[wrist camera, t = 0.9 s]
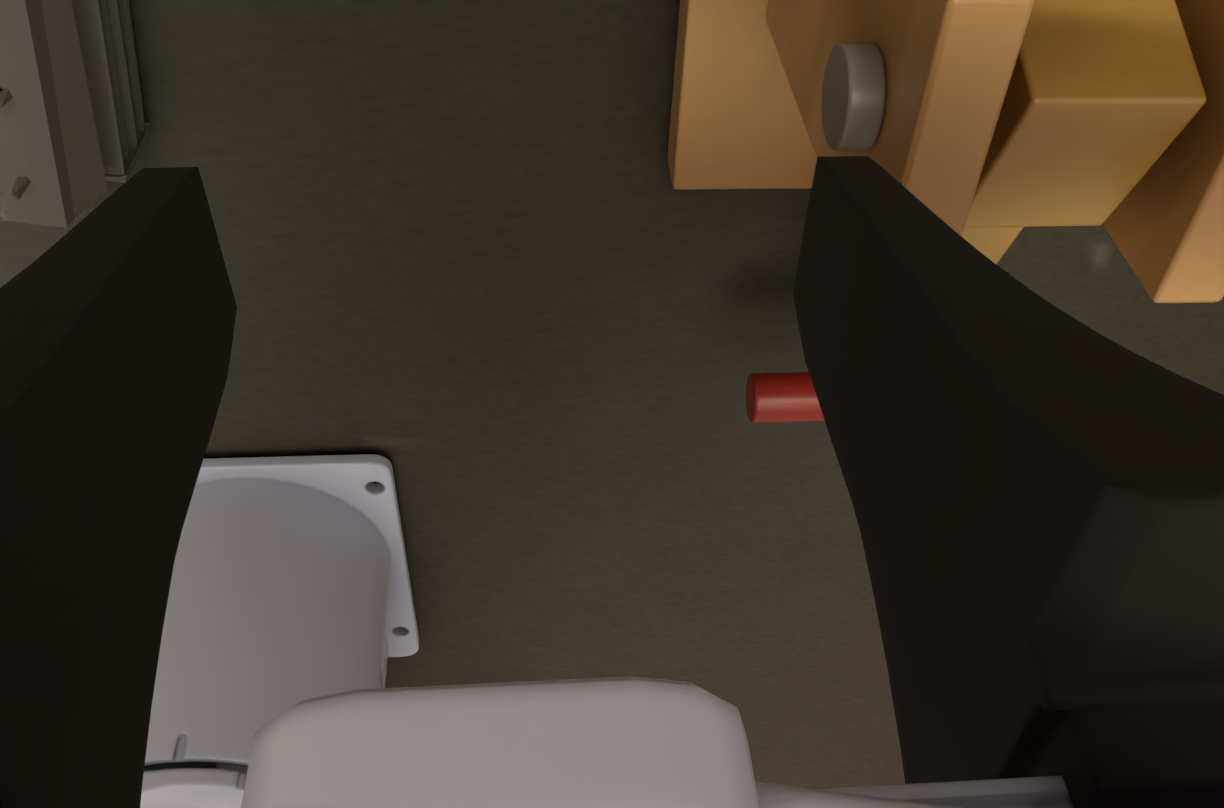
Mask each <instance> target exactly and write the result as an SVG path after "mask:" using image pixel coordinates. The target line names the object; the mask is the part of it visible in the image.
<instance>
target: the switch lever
mask: <svg viewBox="0 0 1224 808" xmlns="http://www.w3.org/2000/svg"><path fill="white" fill-rule="evenodd" d="M1205 103H1206V94H1205V91H1204V88H1203V85H1202V82H1201V79H1200V76H1199V72H1198V69H1197V66H1196V63H1195V60H1194V57H1193V54H1192V51H1191V48H1190V45H1189V42H1188V39H1187V36H1186V33H1185V30H1184V27H1183V23H1182V20H1181V17H1180V14H1179V11H1178V8H1177V5H1176V2H1175V0H1034V6H1033V9H1032V12H1031V15H1030V18H1029V22H1028V25H1027V28H1026V31H1025V34H1024V38H1023V41H1022V44H1021V47H1020V50H1019V54H1018V57H1017V60H1016V63H1015V66H1014V70H1013V73H1012V76H1011V79H1010V82H1009V86H1008V89H1007V92H1006V95H1005V98H1004V102H1003V105H1002V108H1001V111H1000V114H999V118H998V121H997V124H996V127H995V130H994V134H993V137H992V140H991V143H990V146H989V150H988V153H987V156H986V159H985V162H984V166H983V169H982V172H981V175H980V178H979V182H978V185H977V188H976V191H975V194H974V198H973V201H972V204H971V207H970V210H969V214H968V217H967V220H966V223H965V226H964V230H963V233H962V236H961V237H963V238H964V239H965V240H966V241H967V242H969V243H970V244H971V245H972V246H973V247H975V248H976V249H977V250H978V251H980V252H981V253H982V254H983V255H985V256H986V257H987V258H989V259H990V260H991V261H992V262H994V263H995V264H997V263H998V262H999V260H1000V259H1001V258H1002V256H1003V255H1004V253H1005V252H1006V251H1007V249H1008V248H1009V247H1010V245H1011V244H1012V242H1013V241H1014V240H1015V238H1016V237H1017V236H1018V234H1019V233H1020V232H1021V230H1022V229H1023V227H1032V226H1099V225H1101V224H1103V223H1104V222H1105V221H1106V220H1107V219H1108V217H1109V216H1110V215H1111V214H1112V213H1113V211H1114V210H1115V209H1116V208H1117V207H1118V206H1119V204H1120V203H1121V202H1122V201H1123V200H1124V199H1125V197H1126V196H1127V195H1128V194H1129V193H1130V191H1131V190H1132V189H1133V188H1134V187H1135V186H1136V184H1137V183H1138V182H1139V181H1140V180H1141V178H1142V177H1143V176H1144V175H1145V174H1146V173H1147V171H1148V170H1149V169H1150V168H1151V167H1152V165H1153V164H1154V163H1155V162H1156V161H1157V160H1158V158H1159V157H1160V156H1161V155H1162V154H1163V153H1164V151H1165V150H1166V149H1167V148H1168V147H1169V145H1170V144H1171V143H1172V142H1173V141H1174V140H1175V138H1176V137H1177V136H1178V135H1179V134H1180V132H1181V131H1182V130H1183V129H1184V128H1185V127H1186V125H1187V124H1188V123H1189V122H1190V121H1191V120H1192V118H1193V117H1194V116H1195V115H1196V114H1197V112H1198V111H1199V110H1200V109H1201V108H1202V107H1203V105H1204V104H1205ZM746 408H747V414H748V417H749V420H750V421H751V422H752V423H785V422H825V420H824V417H823V414H822V411H821V408H820V405H819V402H818V399H817V395H816V392H815V389H814V386H813V383H812V380H811V377H810V374H809V372H796V373H753V374H751V375H749V377H748V380H747V385H746Z"/></svg>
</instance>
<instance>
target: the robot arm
mask: <svg viewBox="0 0 1224 808" xmlns="http://www.w3.org/2000/svg"><path fill="white" fill-rule="evenodd" d="M793 294H794V300H795V306H796V312H797V318H798V324H799V330H800V335H801V341H802V346H803V351H804V356H805V361H806V364H807V368H808V371H809V374H810V377H811V380H812V383H813V386H814V389H815V392H816V395H817V399H818V402H819V405H820V408H821V411H822V414H823V417H824V420H825V423H826V426H827V429H828V432H829V435H830V437H831V440H832V443H833V446H834V449H835V452H836V455H837V458H838V461H839V464H840V467H841V470H842V473H843V476H844V479H845V482H846V485H847V488H848V491H849V494H850V497H851V500H852V503H853V507H854V510H855V514H856V517H857V521H858V524H859V528H860V531H861V536H862V540H863V545H864V550H865V555H866V560H867V564H868V569H869V574H870V579H871V583H872V588H873V593H874V598H875V603H876V608H877V614H878V619H879V624H880V630H881V635H882V640H883V646H884V651H885V657H886V662H887V667H888V673H889V679H890V686H891V692H892V698H893V704H894V710H895V716H896V722H897V729H898V735H899V741H900V747H901V754H902V761H903V769H904V776H905V783H906V784H898V785H880V786H862V787H844V788H826V789H811V788H803V787H795V786H787V785H779V784H771V783H763V782H755V780H754V774H753V768H752V762H751V756H750V751H749V745H748V739H747V735H746V732H745V729H744V726H743V723H742V719H741V716H740V713H739V710H738V708H737V707H735V706H734V705H732V704H730V703H728V702H726V701H725V700H723V699H721V698H719V697H717V696H715V695H713V694H711V693H710V692H708V691H706V690H704V689H702V688H700V687H698V686H696V685H694V684H693V683H691V682H689V681H679V680H669V679H659V678H649V677H638V676H626V677H605V678H584V679H563V680H543V681H522V682H501V683H480V684H460V685H439V686H418V687H397V688H385V680H386V669H387V657H405V656H410V655H413V654H415V653H416V652H417V651H418V649H419V634H418V627H417V621H416V615H415V608H414V602H413V595H412V589H411V583H410V576H409V570H408V564H407V557H406V551H405V544H404V538H403V532H402V525H401V519H400V513H399V506H398V500H397V493H396V487H395V481H394V474H393V468H392V464H391V462H390V461H389V460H388V459H387V458H385V457H383V456H381V455H376V454H356V455H318V456H280V457H243V458H205V459H203V458H204V455H205V452H206V448H207V445H208V442H209V439H210V435H211V432H212V428H213V425H214V422H215V418H216V415H217V411H218V408H219V404H220V401H221V398H222V394H223V390H224V387H225V383H226V380H227V374H228V368H229V361H230V355H231V348H232V340H233V332H234V324H235V316H236V308H237V306H236V303H235V299H234V295H233V292H232V288H231V285H230V281H229V277H228V274H227V270H226V266H225V263H224V259H223V256H222V252H221V248H220V245H219V241H218V237H217V234H216V230H215V227H214V223H213V219H212V216H211V212H210V208H209V205H208V201H207V198H206V194H205V190H204V187H203V183H202V179H201V176H200V172H199V169H198V167H187V168H144V169H142V170H141V171H140V172H138V173H137V174H136V175H134V176H133V177H132V178H130V179H129V180H128V181H127V182H126V183H124V184H123V185H122V186H121V187H120V188H119V189H117V190H116V191H115V192H114V193H113V194H112V195H110V196H109V197H108V198H107V199H106V200H105V201H104V202H102V203H101V204H100V205H99V206H98V207H97V208H96V209H95V210H93V211H92V212H91V213H90V214H89V215H88V216H87V217H85V218H84V219H83V220H82V221H81V222H80V223H79V224H77V225H76V226H75V227H74V228H73V229H72V230H70V231H69V232H68V233H67V234H66V235H65V236H63V237H62V238H61V239H60V240H59V241H58V242H57V243H55V244H54V245H53V246H52V247H51V248H50V249H48V250H47V251H46V252H45V253H44V254H43V255H41V256H40V257H39V258H38V259H37V260H35V261H34V262H33V263H32V264H31V265H29V266H28V267H27V268H25V269H24V270H23V271H22V272H20V273H19V274H18V275H16V276H15V277H14V278H13V279H11V280H10V281H9V282H7V283H6V284H5V285H3V286H2V287H1V288H0V808H1224V395H1223V394H1220V393H1218V392H1215V391H1213V390H1211V389H1209V388H1206V387H1204V386H1202V385H1200V384H1197V383H1195V382H1193V381H1191V380H1188V379H1186V378H1184V377H1182V376H1180V375H1177V374H1175V373H1173V372H1171V371H1169V370H1167V369H1165V368H1163V367H1161V366H1159V365H1157V364H1155V363H1153V362H1151V361H1149V360H1148V359H1146V358H1144V357H1142V356H1140V355H1138V354H1136V353H1134V352H1132V351H1130V350H1128V349H1126V348H1124V347H1122V346H1120V345H1119V344H1117V343H1115V342H1113V341H1111V340H1109V339H1108V338H1106V337H1104V336H1102V335H1101V334H1099V333H1097V332H1096V331H1094V330H1092V329H1091V328H1089V327H1087V326H1086V325H1084V324H1083V323H1081V322H1079V321H1078V320H1076V319H1074V318H1073V317H1071V316H1070V315H1068V314H1066V313H1065V312H1063V311H1061V310H1060V309H1058V308H1056V307H1055V306H1053V305H1052V304H1050V303H1049V302H1047V301H1046V300H1045V299H1043V298H1042V297H1040V296H1039V295H1037V294H1036V293H1034V292H1033V291H1031V290H1030V289H1029V288H1027V287H1026V286H1025V285H1023V284H1022V283H1021V282H1019V281H1018V280H1016V279H1015V278H1014V277H1012V276H1011V275H1010V274H1008V273H1007V272H1006V271H1004V270H1003V269H1002V268H1000V267H999V266H997V265H996V264H995V263H994V262H992V261H991V260H990V259H989V258H987V257H986V256H985V255H983V254H982V253H981V252H980V251H978V250H977V249H976V248H975V247H973V246H972V245H971V244H970V243H969V242H967V241H966V240H965V239H964V238H963V237H961V236H960V235H959V234H958V233H957V232H955V231H954V230H953V229H952V228H951V227H950V226H948V225H947V224H946V223H945V222H944V221H943V220H941V219H940V218H939V217H938V216H937V215H936V214H934V213H933V212H932V211H931V210H930V209H929V208H928V207H927V206H925V205H924V204H923V203H922V202H921V201H920V200H919V199H918V198H916V197H915V196H914V195H913V194H912V193H911V192H910V191H909V190H907V189H906V188H905V187H904V186H903V185H902V184H901V183H900V182H898V181H897V180H896V179H895V178H894V177H893V176H892V175H890V174H889V173H888V172H887V171H886V170H885V169H884V168H882V167H881V166H880V165H879V164H878V163H876V162H875V161H874V160H873V159H871V158H870V157H869V156H830V157H817V161H816V167H815V172H814V178H813V184H812V189H811V195H810V201H809V206H808V212H807V218H806V223H805V229H804V235H803V240H802V246H801V252H800V257H799V263H798V269H797V274H796V280H795V286H794V291H793ZM372 482H379V483H378V484H377V483H372Z"/></svg>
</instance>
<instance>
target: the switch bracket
mask: <svg viewBox="0 0 1224 808" xmlns="http://www.w3.org/2000/svg"><path fill="white" fill-rule="evenodd" d="M1175 2H1176V5H1177V8H1178V11H1179V14H1180V17H1181V20H1182V23H1183V27H1184V30H1185V33H1186V36H1187V39H1188V42H1189V45H1190V48H1191V51H1192V54H1193V57H1194V60H1195V63H1196V66H1197V69H1198V72H1199V76H1200V79H1201V82H1202V85H1203V88H1204V91H1205V94H1206V103H1205V104H1204V105H1203V107H1202V108H1201V109H1200V110H1199V111H1198V112H1197V114H1196V115H1195V116H1194V117H1193V118H1192V120H1191V121H1190V122H1189V123H1188V124H1187V125H1186V127H1185V128H1184V129H1183V130H1182V131H1181V132H1180V134H1179V135H1178V136H1177V137H1176V138H1175V140H1174V141H1173V142H1172V143H1171V144H1170V145H1169V147H1168V148H1167V149H1166V150H1165V151H1164V153H1163V154H1162V155H1161V156H1160V157H1159V158H1158V160H1157V161H1156V162H1155V163H1154V164H1153V165H1152V167H1151V168H1150V169H1149V170H1148V171H1147V173H1146V174H1145V175H1144V176H1143V177H1142V178H1141V180H1140V181H1139V182H1138V183H1137V184H1136V186H1135V187H1134V188H1133V189H1132V190H1131V191H1130V193H1129V194H1128V195H1127V196H1126V197H1125V199H1124V200H1123V201H1122V202H1121V203H1120V204H1119V206H1118V207H1117V208H1116V209H1115V210H1114V211H1113V213H1112V214H1111V215H1110V216H1109V217H1108V219H1107V220H1106V221H1105V222H1104V223H1103V226H1104V227H1105V229H1106V230H1107V232H1108V233H1109V235H1110V236H1111V238H1112V239H1113V241H1114V243H1115V244H1116V246H1117V247H1118V249H1119V250H1120V252H1121V253H1122V255H1123V256H1124V258H1125V259H1126V261H1127V262H1128V264H1129V265H1130V267H1131V268H1132V270H1133V272H1134V273H1135V275H1136V276H1137V278H1138V279H1139V281H1140V282H1141V284H1142V285H1143V287H1144V288H1145V290H1146V291H1147V293H1148V294H1149V296H1150V297H1151V299H1152V301H1154V302H1156V303H1197V302H1218V301H1220V300H1221V299H1222V298H1223V296H1224V0H1175ZM1033 6H1034V0H680V7H679V19H678V32H677V44H676V57H675V69H674V82H673V94H672V107H671V120H670V132H669V145H668V157H667V161H668V166H669V171H670V176H671V182H672V186H673V188H674V189H676V190H703V189H807V188H812V184H813V178H814V172H815V167H816V161H817V157H830V156H869V157H870V158H871V159H873V160H874V161H875V162H876V163H878V164H879V165H880V166H881V167H882V168H884V169H885V170H886V171H887V172H888V173H889V174H890V175H892V176H893V177H894V178H895V179H896V180H897V181H898V182H900V183H901V184H902V185H903V186H904V187H905V188H906V189H907V190H909V191H910V192H911V193H912V194H913V195H914V196H915V197H916V198H918V199H919V200H920V201H921V202H922V203H923V204H924V205H925V206H927V207H928V208H929V209H930V210H931V211H932V212H933V213H934V214H936V215H937V216H938V217H939V218H940V219H941V220H943V221H944V222H945V223H946V224H947V225H948V226H950V227H951V228H952V229H953V230H954V231H955V232H957V233H958V234H959V235H960V236H962V233H963V230H964V226H965V223H966V220H967V217H968V214H969V210H970V207H971V204H972V201H973V198H974V194H975V191H976V188H977V185H978V182H979V178H980V175H981V172H982V169H983V166H984V162H985V159H986V156H987V153H988V150H989V146H990V143H991V140H992V137H993V134H994V130H995V127H996V124H997V121H998V118H999V114H1000V111H1001V108H1002V105H1003V102H1004V98H1005V95H1006V92H1007V89H1008V86H1009V82H1010V79H1011V76H1012V73H1013V70H1014V66H1015V63H1016V60H1017V57H1018V54H1019V50H1020V47H1021V44H1022V41H1023V38H1024V34H1025V31H1026V28H1027V25H1028V22H1029V18H1030V15H1031V12H1032V9H1033Z"/></svg>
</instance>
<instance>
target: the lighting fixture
mask: <svg viewBox="0 0 1224 808" xmlns="http://www.w3.org/2000/svg"><path fill="white" fill-rule="evenodd" d="M149 132H150V123H145V119H144V111H143V104H142V96H141V89H140V81H139V73H138V66H137V58H136V51H135V43H134V36H133V28H132V20H131V13H130V5H129V0H0V217H1V220H5V221H13V222H22V223H30V224H38V225H46V226H54V227H63V228H68V226H69V225H70V223H71V222H72V220H73V219H74V217H75V216H77V215H78V214H79V213H80V212H81V211H83V210H84V209H85V208H86V207H88V206H89V205H90V204H91V203H92V202H94V201H95V200H96V199H97V198H99V197H100V196H101V195H102V194H103V193H105V192H106V191H107V190H108V188H107V183H106V182H116V183H126V182H127V180H128V178H129V175H130V173H131V171H132V169H133V167H134V165H135V162H136V160H137V158H138V156H139V154H140V151H141V149H142V147H143V145H144V143H145V140H146V138H147V136H148V134H149Z"/></svg>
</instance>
